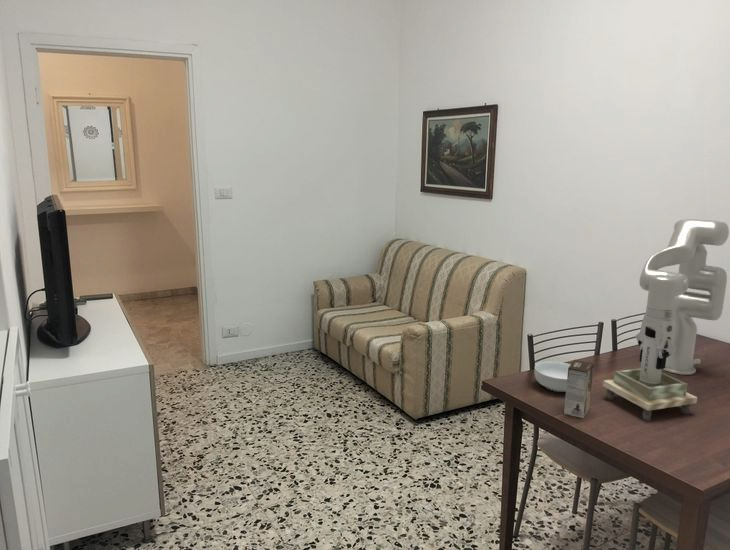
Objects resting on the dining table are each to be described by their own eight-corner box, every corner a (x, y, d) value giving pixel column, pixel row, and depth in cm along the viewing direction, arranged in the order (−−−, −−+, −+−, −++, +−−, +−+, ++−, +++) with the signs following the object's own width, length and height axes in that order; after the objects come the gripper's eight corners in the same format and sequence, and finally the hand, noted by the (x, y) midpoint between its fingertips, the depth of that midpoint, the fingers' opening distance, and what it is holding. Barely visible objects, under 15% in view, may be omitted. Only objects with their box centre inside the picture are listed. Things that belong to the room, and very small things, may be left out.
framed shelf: (646, 390, 200) (650, 364, 198) (694, 414, 181) (699, 385, 179) (601, 396, 194) (604, 369, 192) (646, 422, 175) (650, 393, 173)
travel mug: (655, 379, 189) (661, 323, 185) (663, 387, 183) (670, 329, 178) (635, 378, 190) (642, 322, 186) (643, 386, 183) (650, 328, 179)
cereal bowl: (548, 399, 191) (550, 380, 190) (524, 380, 207) (525, 362, 206) (592, 395, 195) (594, 376, 194) (565, 377, 211) (566, 359, 209)
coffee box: (569, 403, 188) (574, 358, 185) (589, 408, 185) (594, 362, 181) (563, 414, 180) (567, 367, 177) (583, 419, 177) (589, 371, 174)
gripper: (690, 319, 174) (682, 373, 178) (647, 305, 190) (640, 355, 194) (671, 321, 172) (664, 375, 176) (629, 306, 188) (623, 357, 192)
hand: (652, 364), depth 185 cm, fingers closed on travel mug, 6 cm apart
